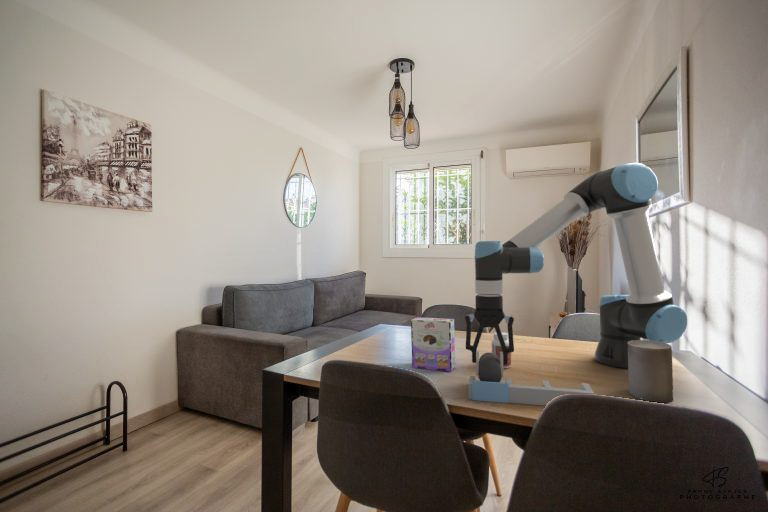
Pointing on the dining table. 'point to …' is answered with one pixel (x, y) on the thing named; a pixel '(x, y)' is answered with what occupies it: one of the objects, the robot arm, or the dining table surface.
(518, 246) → the robot arm
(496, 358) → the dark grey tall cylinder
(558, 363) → the dining table surface
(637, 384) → the pillar candle
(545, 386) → the duct comb
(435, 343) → the candy box
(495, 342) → the pill bottle
